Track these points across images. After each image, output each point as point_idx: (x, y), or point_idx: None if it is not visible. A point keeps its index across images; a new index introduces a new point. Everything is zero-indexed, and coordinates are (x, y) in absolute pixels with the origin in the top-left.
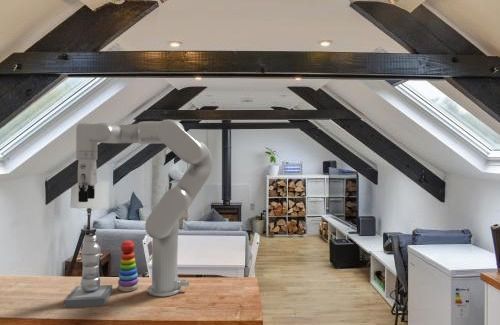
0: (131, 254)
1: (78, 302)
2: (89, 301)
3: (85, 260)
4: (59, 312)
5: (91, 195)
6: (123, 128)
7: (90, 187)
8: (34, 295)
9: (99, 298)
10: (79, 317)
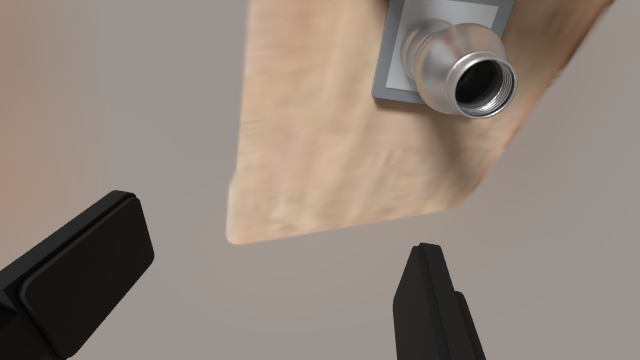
0: None
1: None
2: None
3: (477, 84)
4: None
5: (118, 238)
6: None
7: (11, 350)
8: (358, 179)
9: (511, 9)
10: (560, 57)
